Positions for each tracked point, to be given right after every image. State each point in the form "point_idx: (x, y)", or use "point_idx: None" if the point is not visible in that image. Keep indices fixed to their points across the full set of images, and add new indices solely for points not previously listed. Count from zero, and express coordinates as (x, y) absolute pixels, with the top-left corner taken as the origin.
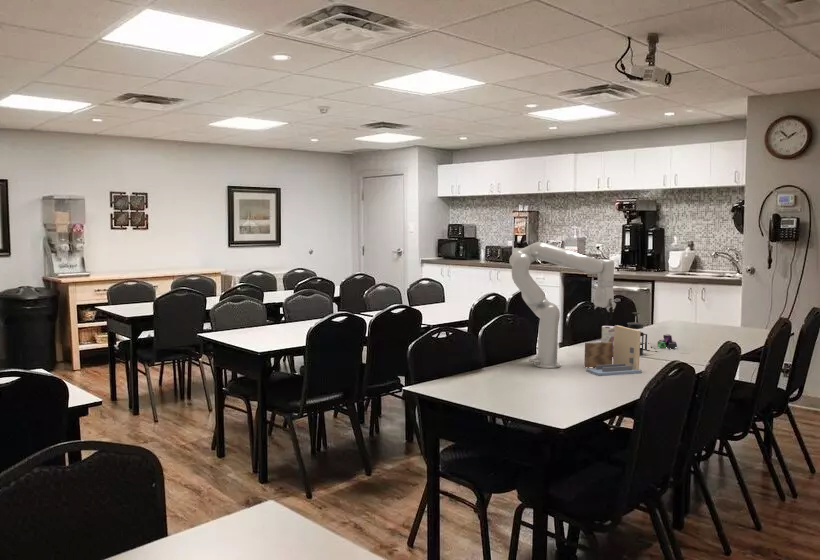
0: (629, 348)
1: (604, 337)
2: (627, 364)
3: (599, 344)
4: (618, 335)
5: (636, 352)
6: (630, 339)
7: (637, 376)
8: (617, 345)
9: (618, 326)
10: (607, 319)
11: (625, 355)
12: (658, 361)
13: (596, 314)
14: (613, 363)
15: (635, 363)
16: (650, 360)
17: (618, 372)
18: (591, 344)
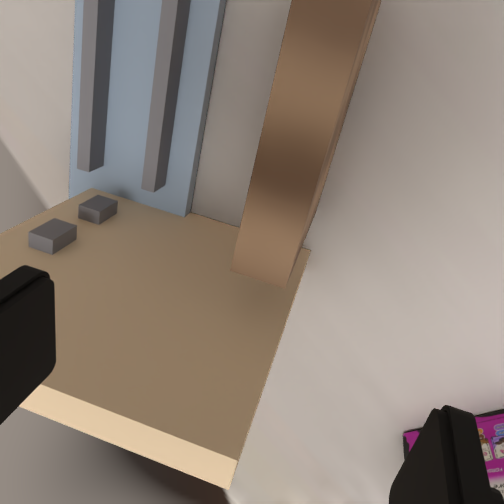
0: (85, 258)
1: None
2: (159, 217)
3: (266, 121)
4: (196, 358)
5: (17, 225)
6: None
7: (17, 100)
8: (236, 307)
9: (161, 430)
10: (24, 277)
11: (157, 245)
12: (247, 486)
13: (430, 472)
14: (305, 252)
15: (73, 200)
16: (282, 483)
17: (76, 30)
18: (292, 9)
